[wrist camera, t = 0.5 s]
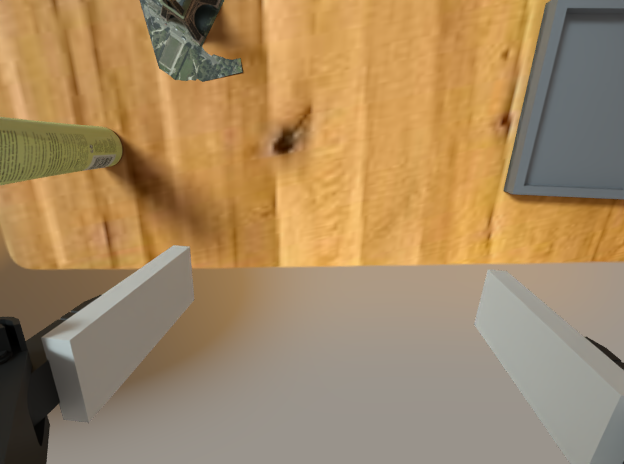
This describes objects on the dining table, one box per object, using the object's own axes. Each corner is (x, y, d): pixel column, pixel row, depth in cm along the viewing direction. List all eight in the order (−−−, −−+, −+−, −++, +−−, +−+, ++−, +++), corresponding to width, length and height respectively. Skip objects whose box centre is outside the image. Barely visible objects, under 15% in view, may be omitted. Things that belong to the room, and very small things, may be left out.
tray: (545, 3, 31) (559, -5, 29) (741, 4, 30) (768, -4, 28) (503, 190, 37) (512, 194, 35) (665, 198, 36) (683, 202, 34)
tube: (76, 129, 39) (-158, 128, 21) (109, 115, 38) (-106, 99, 20) (99, 172, 41) (-100, 206, 22) (132, 159, 40) (-49, 183, 21)
